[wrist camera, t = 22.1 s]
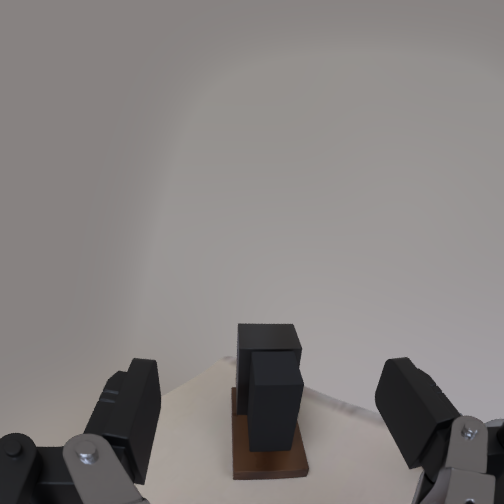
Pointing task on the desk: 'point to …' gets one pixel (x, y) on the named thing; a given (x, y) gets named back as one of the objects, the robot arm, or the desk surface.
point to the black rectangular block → (273, 400)
